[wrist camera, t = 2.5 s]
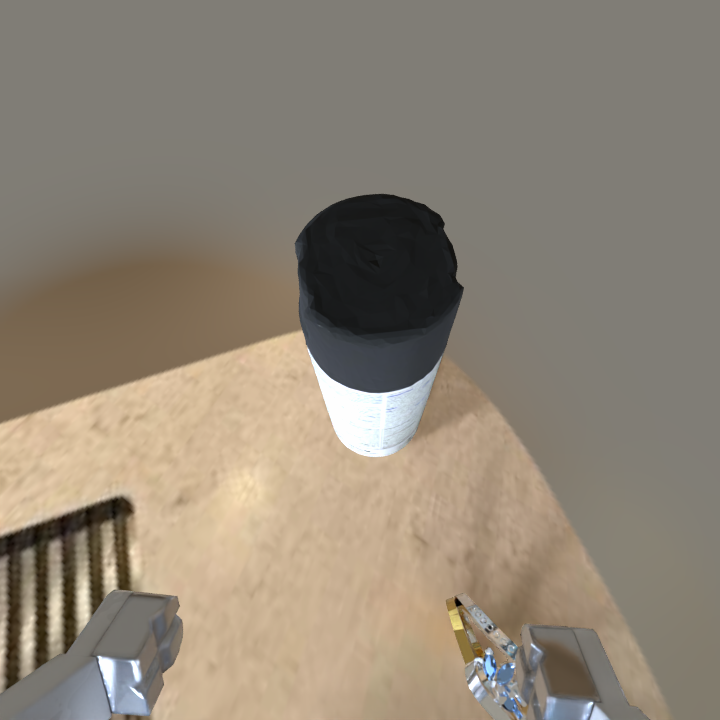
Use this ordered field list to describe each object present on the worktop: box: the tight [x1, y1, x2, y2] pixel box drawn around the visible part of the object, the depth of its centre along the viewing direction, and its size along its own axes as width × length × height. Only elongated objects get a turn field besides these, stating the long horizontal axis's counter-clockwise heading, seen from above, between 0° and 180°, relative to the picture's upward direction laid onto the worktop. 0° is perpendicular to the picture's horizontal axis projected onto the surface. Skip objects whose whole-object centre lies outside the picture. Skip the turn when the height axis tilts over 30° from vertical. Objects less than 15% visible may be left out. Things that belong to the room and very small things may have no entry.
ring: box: [446, 593, 528, 720], centre depth 25 cm, size 7×3×8 cm, turn 20°
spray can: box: [295, 194, 464, 457], centre depth 25 cm, size 7×7×20 cm
